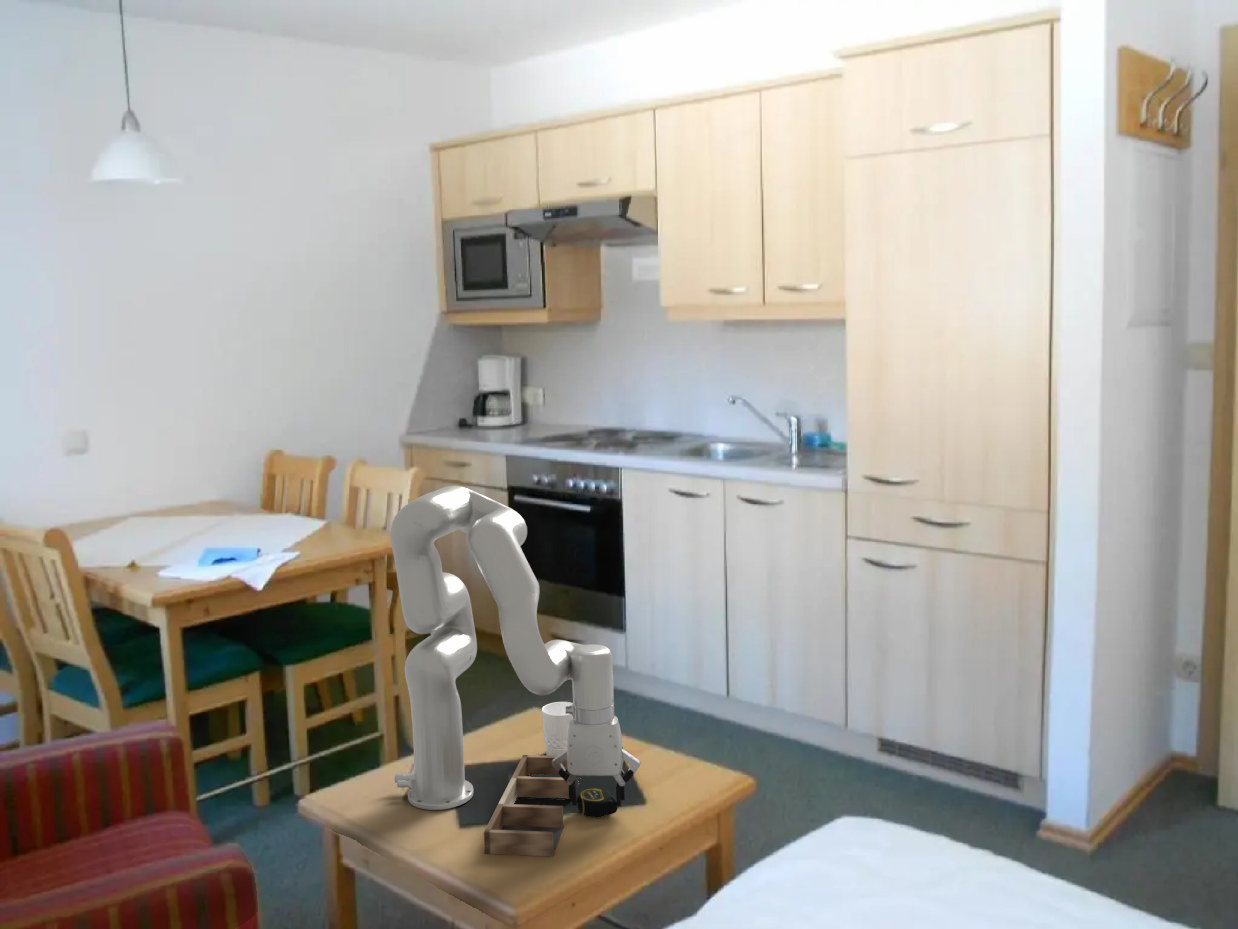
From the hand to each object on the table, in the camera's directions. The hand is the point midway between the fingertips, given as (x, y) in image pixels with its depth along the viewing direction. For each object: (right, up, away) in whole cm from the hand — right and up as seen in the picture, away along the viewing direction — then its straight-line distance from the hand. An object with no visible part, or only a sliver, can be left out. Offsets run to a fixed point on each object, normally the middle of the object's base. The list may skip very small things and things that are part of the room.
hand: (597, 802), depth 212 cm
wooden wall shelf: (-11, -2, +2) cm, 12 cm away
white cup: (-8, +2, +28) cm, 30 cm away
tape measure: (0, -2, +1) cm, 3 cm away
